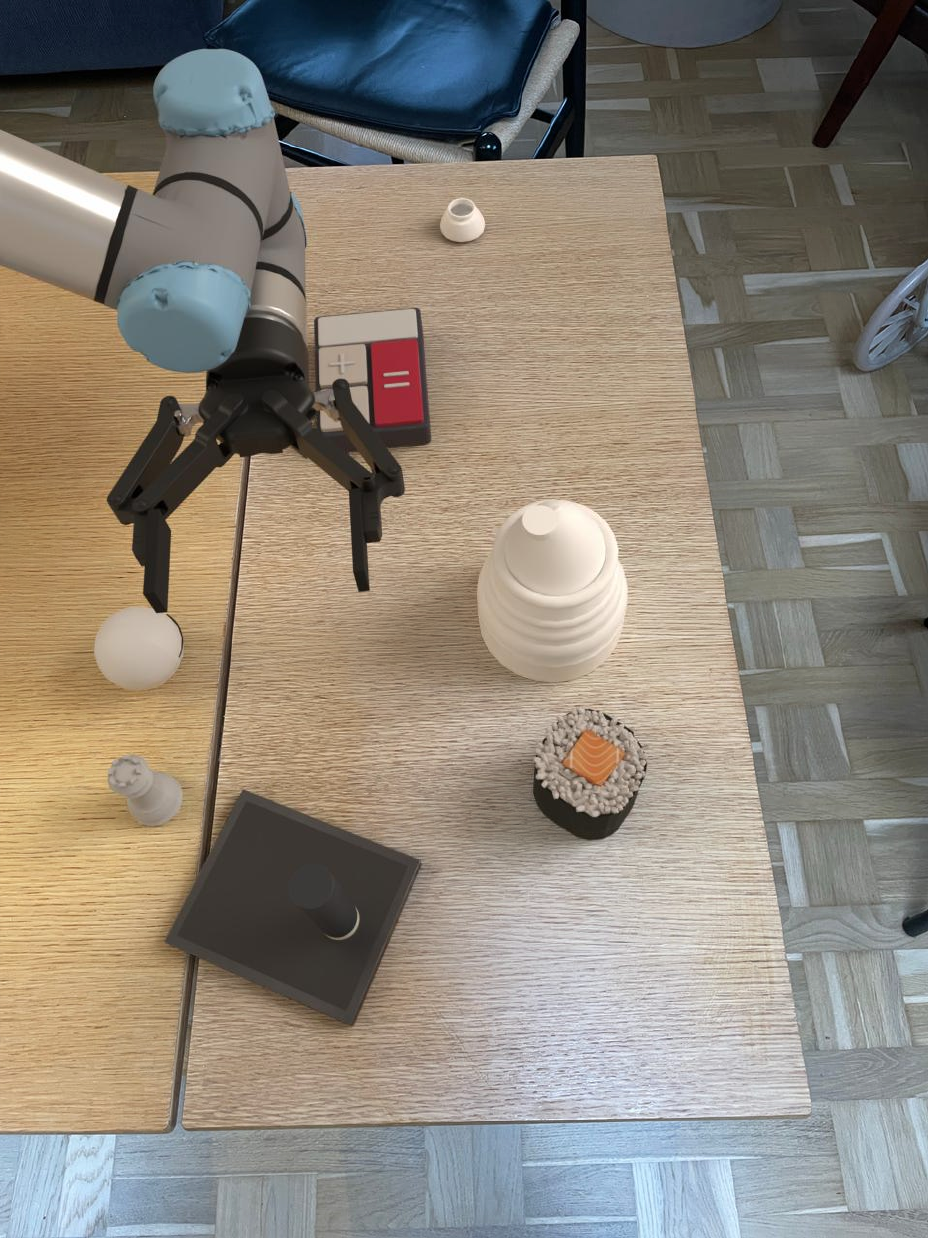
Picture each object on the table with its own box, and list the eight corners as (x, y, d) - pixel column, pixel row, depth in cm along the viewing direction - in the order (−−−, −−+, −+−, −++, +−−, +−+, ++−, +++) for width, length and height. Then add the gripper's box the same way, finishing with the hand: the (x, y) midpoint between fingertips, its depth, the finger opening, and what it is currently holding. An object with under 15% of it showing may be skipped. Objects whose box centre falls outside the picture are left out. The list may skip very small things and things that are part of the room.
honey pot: (556, 711, 84) (565, 613, 68) (449, 620, 88) (433, 508, 72) (652, 612, 88) (682, 497, 72) (544, 530, 92) (550, 405, 76)
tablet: (168, 944, 76) (162, 941, 75) (246, 793, 82) (242, 788, 80) (353, 1027, 73) (350, 1025, 72) (422, 863, 78) (420, 860, 77)
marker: (314, 931, 75) (280, 899, 64) (331, 894, 76) (300, 856, 66) (349, 946, 74) (321, 916, 64) (365, 908, 76) (341, 873, 65)
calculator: (314, 432, 94) (312, 310, 100) (322, 457, 98) (319, 339, 104) (429, 422, 94) (419, 301, 100) (432, 447, 98) (422, 329, 104)
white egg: (197, 695, 86) (171, 660, 79) (113, 711, 86) (80, 677, 79) (191, 597, 91) (166, 556, 84) (111, 612, 90) (79, 572, 84)
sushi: (567, 724, 83) (572, 686, 76) (654, 777, 81) (667, 744, 74) (514, 801, 80) (514, 769, 73) (602, 858, 78) (611, 832, 71)
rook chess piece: (191, 779, 82) (160, 746, 75) (176, 831, 80) (142, 803, 73) (140, 772, 83) (105, 739, 76) (124, 823, 81) (86, 794, 74)
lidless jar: (435, 241, 110) (479, 247, 110) (434, 220, 108) (478, 225, 107) (446, 211, 112) (489, 216, 112) (445, 189, 110) (488, 194, 109)
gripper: (425, 365, 78) (450, 599, 68) (111, 398, 77) (90, 637, 68) (418, 294, 71) (443, 542, 61) (74, 329, 71) (45, 584, 61)
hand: (258, 593), depth 64 cm, fingers open, 13 cm apart
